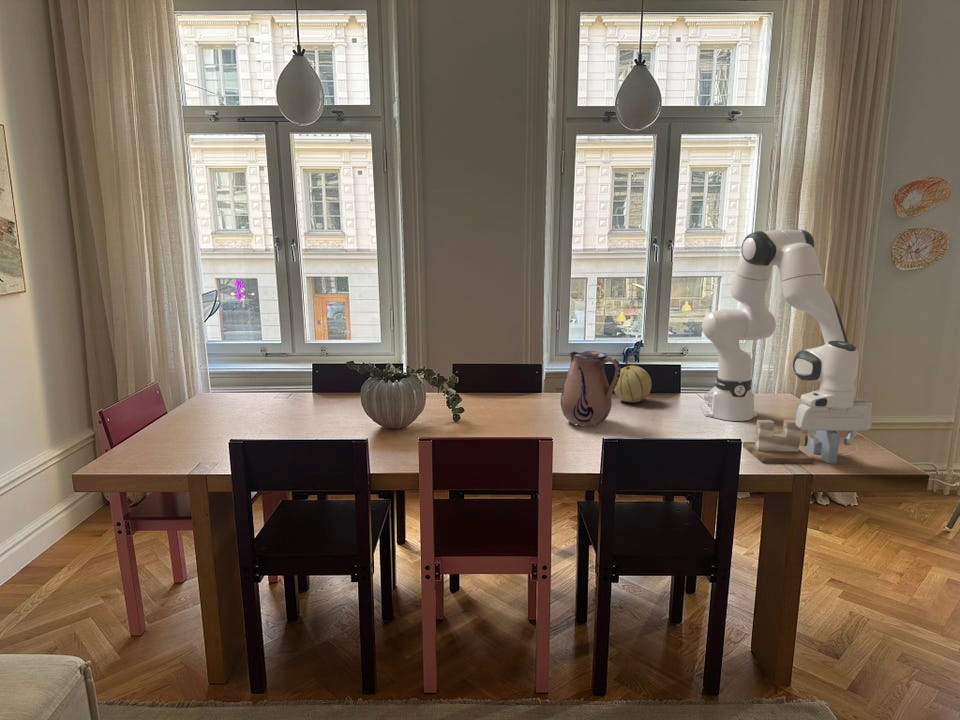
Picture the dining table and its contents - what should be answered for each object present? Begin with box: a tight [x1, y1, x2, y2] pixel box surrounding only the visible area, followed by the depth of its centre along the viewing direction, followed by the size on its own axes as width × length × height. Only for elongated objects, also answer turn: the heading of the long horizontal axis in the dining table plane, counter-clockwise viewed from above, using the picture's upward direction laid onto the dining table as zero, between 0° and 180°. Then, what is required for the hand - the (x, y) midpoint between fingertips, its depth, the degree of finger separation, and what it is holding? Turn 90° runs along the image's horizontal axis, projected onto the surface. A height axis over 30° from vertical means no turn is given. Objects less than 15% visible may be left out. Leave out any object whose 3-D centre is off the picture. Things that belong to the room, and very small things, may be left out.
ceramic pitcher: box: [560, 350, 622, 427], centre depth 210 cm, size 18×21×25 cm
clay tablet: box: [773, 427, 806, 447], centre depth 198 cm, size 14×10×3 cm
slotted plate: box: [806, 431, 841, 464], centre depth 181 cm, size 12×2×9 cm, turn 179°
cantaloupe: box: [613, 365, 652, 403], centre depth 239 cm, size 15×15×15 cm
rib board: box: [742, 419, 813, 464], centre depth 182 cm, size 14×14×10 cm
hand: (830, 444), depth 176 cm, fingers open, 8 cm apart
